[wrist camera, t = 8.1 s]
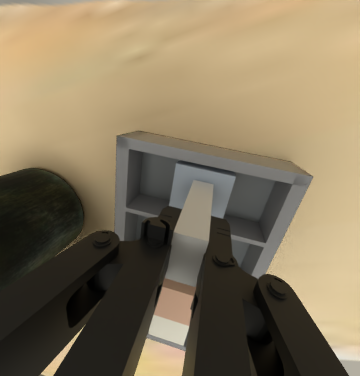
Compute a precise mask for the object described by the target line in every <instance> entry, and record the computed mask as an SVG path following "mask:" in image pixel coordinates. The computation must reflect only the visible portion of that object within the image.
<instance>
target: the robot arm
mask: <svg viewBox="0 0 360 376" xmlns="http://www.w3.org/2000/svg"><path fill="white" fill-rule="evenodd" d="M213 186H214V184H210V183H206V182H201V181H197V180H193V183H192V186H191V188H190V191H189V193H188V196H187V199H186V201H185V204H184V206H183V209H180V208H176V207H172V206H167V207H165V208H163V209H162V211H161V212H160V215H159V216H158V217H150V218H147V219H145V220H144V221H142V225H141V235H140V239H139V240H136V241H120V239H119V236H118V235H117V234H116V233H115V232H112V231H97V232H95V233H92V234H90V235H89V236H87V237H85V238H84V239H82V240H81V241H79V242H77V243H76V244H74V245H73V246H71V247H69V248H68V249H66V250H65V251H63V252H61V253H60V254H58V255H57V256H55V257H53V258H52V259H50V260H49V261H47V262H46V263H44V264H42V265H41V266H39V267H38V268H36V269H34V270H33V271H31V272H30V273H28V274H26V275H25V276H23V277H22V278H20V279H18V280H17V281H15V282H14V283H12V284H10V285H9V286H7V287H6V288H4V289H2V290H1V291H0V376H39V375H40V374H41V373H42V372H43V371H44V369H45V368H46V367H47V366H48V365H49V364H50V363H51V362H52V361H53V360H54V358H55V357H56V356H57V355H58V354H59V353H60V352H61V351H62V350H63V349H64V347H65V346H66V345H67V344H68V343H69V342H70V341H71V340H72V339H73V338H74V336H75V335H76V334H77V333H78V332H79V331H80V330H81V329H82V328H83V327H84V328H83V329H82V331H81V333H80V334H79V336H78V337H77V339H76V341H75V342H74V344H73V345H72V347H71V349H70V350H69V352H68V353H67V355H66V356H65V358H64V360H63V361H62V363H61V364H60V366H59V368H58V369H57V371H56V372H55V374H54V375H53V376H134V374H135V371H136V368H137V365H138V361H139V358H140V355H141V352H142V349H143V346H144V343H145V340H146V337H147V334H148V331H149V328H150V324H151V321H152V318H153V315H154V312H155V309H156V306H157V303H158V300H159V297H160V294H161V291H162V287H163V281H164V278H166V279H170V280H173V281H176V282H180V283H183V284H186V285H190V286H193V287H196V291H195V294H194V298H193V301H192V304H191V308H190V309H191V310H192V311H191V318H190V325H189V331H188V338H187V345H186V352H185V359H184V366H183V373H182V376H349V375H348V373H347V372H346V370H345V369H344V367H343V366H342V364H341V363H340V361H339V359H338V358H337V356H336V355H335V353H334V352H333V350H332V349H331V347H330V346H329V344H328V343H327V341H326V339H325V338H324V336H323V335H322V333H321V332H320V330H319V329H318V327H317V326H316V324H315V323H314V321H313V319H312V318H311V316H310V315H309V313H308V312H307V310H306V309H305V307H304V306H303V304H302V303H301V301H300V299H299V298H298V296H297V295H296V293H295V292H294V290H293V289H292V288H291V287H290V286H289V285H288V284H287V283H286V282H285V281H283V280H282V279H280V278H278V277H276V276H274V275H270V274H264V275H262V276H260V277H259V279H257V278H256V277H254V276H252V275H250V274H248V273H246V272H245V271H243V270H242V269H241V268H240V267H239V266H238V263H237V260H236V259H235V258H234V256H233V253H232V242H231V232H230V225H229V223H228V222H227V220H226V219H222V218H218V217H214V216H211V210H212V198H213ZM85 324H86V325H85ZM84 325H85V326H84Z"/></svg>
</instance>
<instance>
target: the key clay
mask: <svg viewBox="0 0 360 376" xmlns="http://www.w3.org/2000/svg"><path fill="white" fill-rule="evenodd" d="M195 291H196V287H193V286H190V285H186V284H183V283H180V282H176V281H173V280H170V279H166V278H164V281H163V287H162V291H161V294H160V297H159V300H158V303H157V306H156V309H155V312H154V315H156V316H159V317H162V318H165V319H169V320H172V321H175V322H178V323H181V324H184V325H187V326H189V325H190V318H191V311H192V310H191V309H190V308H191V304H192V301H193V298H194V294H195Z"/></svg>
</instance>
